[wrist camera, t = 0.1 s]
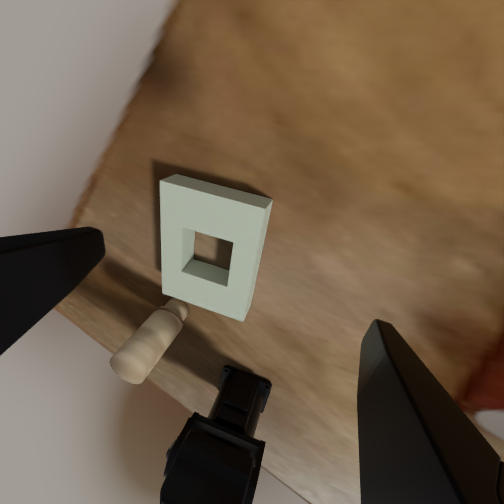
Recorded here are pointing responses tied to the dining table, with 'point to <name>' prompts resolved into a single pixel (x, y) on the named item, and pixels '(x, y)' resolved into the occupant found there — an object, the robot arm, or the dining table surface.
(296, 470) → the dining table surface
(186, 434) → the robot arm
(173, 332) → the peg
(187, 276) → the board
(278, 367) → the dining table surface
